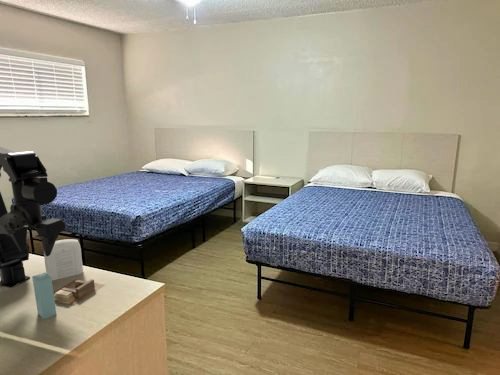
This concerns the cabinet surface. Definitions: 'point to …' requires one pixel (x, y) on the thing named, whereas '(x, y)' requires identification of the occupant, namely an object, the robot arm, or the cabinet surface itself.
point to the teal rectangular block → (44, 295)
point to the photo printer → (64, 259)
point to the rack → (76, 291)
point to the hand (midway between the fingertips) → (35, 253)
